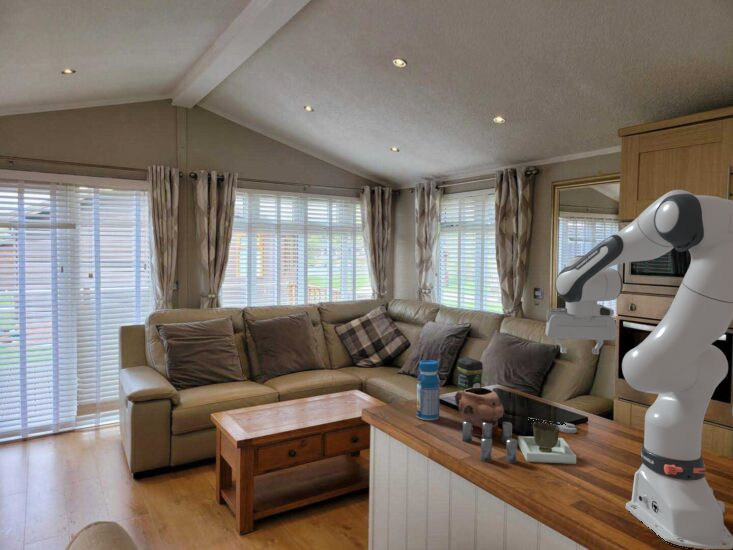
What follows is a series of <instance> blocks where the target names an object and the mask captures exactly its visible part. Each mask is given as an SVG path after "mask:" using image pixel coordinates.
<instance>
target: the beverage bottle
mask: <svg viewBox="0 0 733 550" xmlns="http://www.w3.org/2000/svg"><path fill="white" fill-rule="evenodd" d="M418 369H419V370H418V371H419V374H418V376H417V379H416V382H417V384H416V388H415V389H416V412H415V413H416V415H415V416H416V417H417V418H418V419H420V420H422V421H437V420H438V419H439V418H440V393H441V386H440V383H441V379H440V377H439V375H438V372H439V362H438V361H437V360H432V359H422V360H420V361H419V363H418Z"/></svg>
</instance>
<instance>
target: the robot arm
mask: <svg viewBox="0 0 733 550" xmlns="http://www.w3.org/2000/svg"><path fill="white" fill-rule="evenodd" d="M673 249H675V251H677V252H680V253H682V252H686V251H689V254H690V264H689V266H688V268H687V271H686V273H685V274H684V277H683V279H682V281H681V282H680V283H681V284H680V286H679V288H678V290H677V292H676V294H675V297H674V299H673V300H672V303H671V304H670V307H669V308H668V311H667V312H666V313H665V315H664V316H663V318H662V319H661V320H660V322H659V323H658V324H657V326H656V327H655V328H654V329H653V330H652V331H651V332H650V333H649V335H648V336H647V337H646V338H645V339H644V340H643V341H642V342H640V343H639V344H638V345H637V346H635V347H634V348H631V349H630V350H629V351H627V352H626V353H625V354H624V357H623V358H622V362H621V370H622V374H623V377H624V379H625V382H626V383H627V384H628V385H629V386H630V387H631V388H632V389H633V390H635V391H638V392H641V393H647V394H652V395H653V394H655V395H657V397H656V399H655V400H654V402H653V403H652V404H651V405H650V407H648V409H647V410H646V413H645V415H644V434H643V437H644V438H643V439H644V440H643V444H642V445H641V450H640V455H641V457H640V461H641V465H640V466H639V469H637V471H635V473H634V478H633V485H632V494H631V500H630V501H629V500H628V501H627V502H626V503H625V509H626V510H627V511H630V513H631V514H632V515H633V516H634V517H635V518H636V519H638V520H639V521H640V522H641V521H642V522H643V524H644V525H645V526H646V527H647V528H648V527H649V528H648V529H649V530H651V529H652V530H653V531H654V532H655V533H656V534H655V533H654V532H653V531H652V530H651V531H652V532H653V533H654V534H655V535H657V536H658V535H659V536H660V537H661V538H663V539H664V540H665V541H668V542H671V543H673V544H676V545H679V546H685V547H686V546H687V547H694V548H705V549H732V548H733V534H731V532H730V531H729V529H728V528H727V526H726V525H725V524H724V514H723V513H725V512H726V505H725V504H724V502H723V501H720V500H717V499H716V496H715V495H714V489H713V488H712V487H710V486H709V483H708V481H707V479H706V478H705V476H706V474H707V473H706V470H707V468H705V466H706V465H705V462H704V458H703V456H702V454H701V453H702V437H703V436H702V435H703V424H704V420H705V415H706V412H707V409H708V407H709V404H710V401H711V398H712V396H713V395H714V392H715V390H716V388H717V387H718V386H719V384H721V382H722V381H723V380H724V379H725V378H726V377H727V375H728V371H729V362H728V360H727V356H726V354H724V352H723V351H722V350H721V349H720V348H718V347H717V346H716V345H713V343H714V342H716V341H717V340H719V339H720V338H722V337H723V336H724V334H725V333H726V332H727V330H728V329H729V327H730V325H731V322H732V321H733V200H732V199H727V198H721V197H719V196H713V195H705V194H704V195H702V194H699V195H698V194H694V193H692V192H690V191H687V190H684V189H673V190H671V191H668V192H667V193H665V194H664V195H662V196H660V197H659V198H657V199H656V200H655V201H653V202H652V203H651V204H650V205H649V206H648V207H647V208H646V209H644V210H643V211H642V212H641V213H639V215H637V217H636V218H635V219H634V220H632V221H631V222H630V223H629V224H627V225H626V226H625V227H623V228H622V229H620V230H619V231H617V232H616V233H614V234H612V235H610V236H609V237H606V238H605V239H604V240H602V241H600V242H599V243H598V244H597V245H596V246H594V247H593V248H592V249H591V250H589V251H588V252H587V253H586V254H585V255H577V256H574V257H572V258H570V259H569V261H568V265H567V266H565V267H563V269H562V270H561V271H560V272H559V274H558V275H557V276H556V278H555V283H554V284H555V291H556V293H557V294H558V295H559V297H560V298H561V299H562V300H564V301H565V308H564V307H563V308H562V307H560V308H559V307H558V308H556V307H551V308H549V309H548V310H547V311H546V312H545V320H546V325H545V335H546V337H547V338H548V339H556V342H557V344H558V345H559V347H560V353H561V354H567V353H568V351H567V350H568V347H566V346H565V345H564V344H563V343H564V341H565V340H564V339H566V340H595V342H596V345H595V346H594V347H591V354H593V355H599V354H600V349H601V347H602V346H603V345H604V341H614V340H615V339H616V338H617V323H616V320H615V318H614V315H615V310H614V309H612V308H610V307H607V306H604V305H602V304H600V303H599V304H598V302H609V301H613V300H614V301H615V300H616V299H617V298H619V296H620V295H621V294H622V290H623V286H624V284H623V277H622V275H621V274H620V272H618V270H616V269H614V268H611V267H614V266H616V265H621V264H627V263H634V262H635V263H637V262H644V261H645V262H646V261H651V260H655V259H658V258H660V257H662V256H664V255H666V254H668V253H669V252H671V251H672V250H673ZM642 522H641V523H642ZM659 536H658V537H659ZM660 537H659V538H660ZM661 538H660V539H661ZM663 539H662V540H663ZM664 540H663V541H664ZM665 541H664V542H665ZM723 544H725V545H723ZM679 546H678V547H679Z"/></svg>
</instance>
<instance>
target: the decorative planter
mask: <svg viewBox="0 0 733 550" xmlns="http://www.w3.org/2000/svg"><path fill="white" fill-rule="evenodd" d="M460 396H462V398H461V400H460V402H459V398H460ZM454 398H455V404H456V405H457V406H458V411H459V413H460V415H461V417H462V422H463V421H464V420H469V421H472V422H473V430H472V436H477V437H482V422H483V421H489V422H492V437H493V436H496V435H497V433H498V430H499V421H498V420H499V419H501V418H503V414H505V408H504V406H503V404H502V403H501V402H502V401H501V399H500V397H499V395H498V392H495V391H493V390H492V389H488V388H485V387H482V388H469V389H465V390H464V391H458V390H457V391H456V393H455V396H454Z"/></svg>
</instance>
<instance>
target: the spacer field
mask: <svg viewBox="0 0 733 550" xmlns="http://www.w3.org/2000/svg"><path fill="white" fill-rule="evenodd" d="M472 430H473V422H472V421H469V420H464V421H463V420H462V441H463V442H464V443H467V444H468V443H472V442H473V434H472ZM512 436H513V423H512V422H508V421H503V422H501V444H503V445H506V446H505V447H506V448H505V461H506V463H508V464H517V463H518V439H516V438H513V437H512ZM480 440H481V441H480V460H481V461H482V462H485V463H490V462H492V459H493V458H492V457H493V436H492V422H489V421H483V422H482V436H481V439H480Z"/></svg>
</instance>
